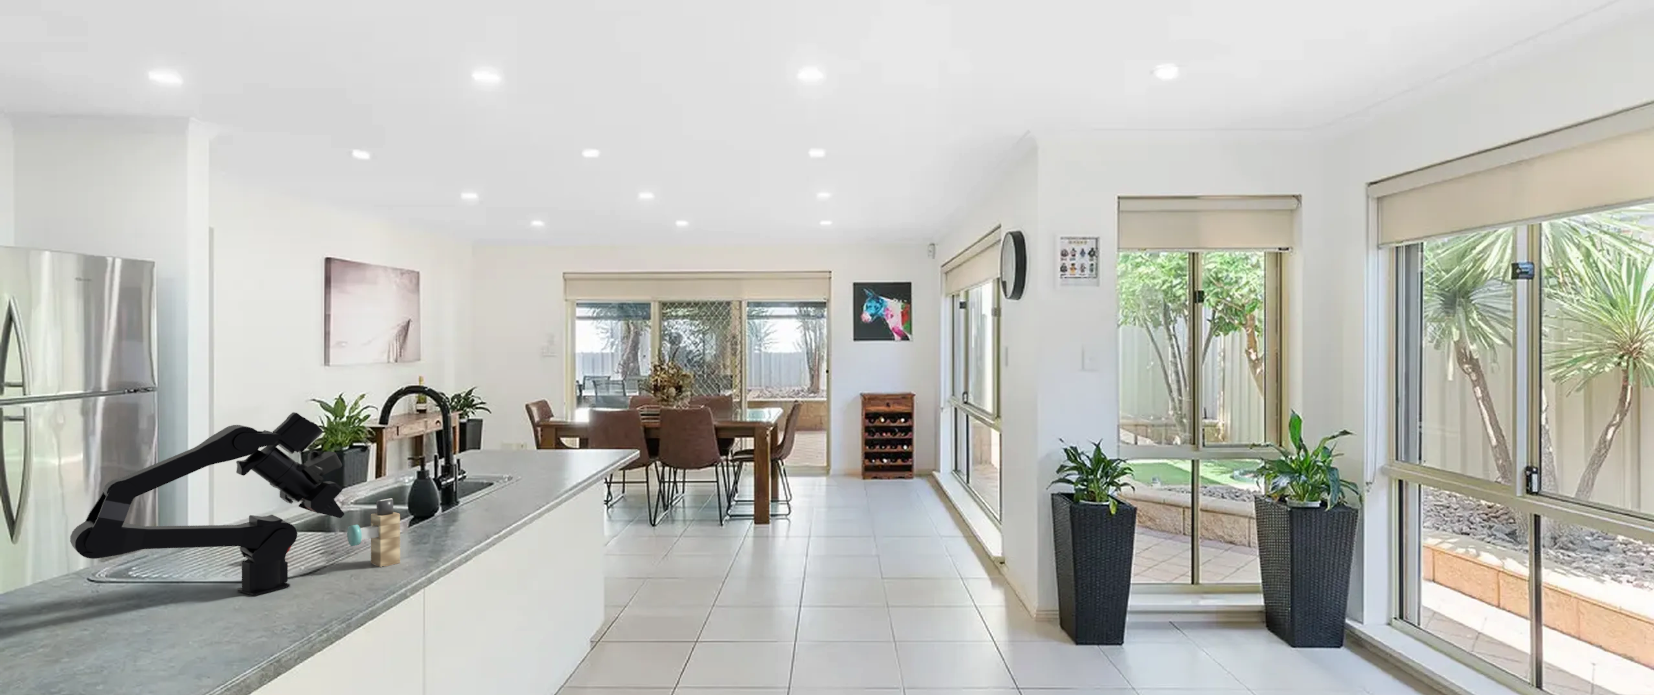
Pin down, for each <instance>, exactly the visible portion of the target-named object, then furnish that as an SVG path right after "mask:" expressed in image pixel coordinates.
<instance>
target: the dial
mask: <svg viewBox="0 0 1654 695" xmlns="http://www.w3.org/2000/svg"><path fill="white" fill-rule="evenodd" d="M394 512H395V511H394V499H393V498H391V497H390V498H383V499H378V500H376V513H377V515H388V514H392V513H394Z"/></svg>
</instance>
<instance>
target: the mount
mask: <svg viewBox="0 0 1654 695" xmlns="http://www.w3.org/2000/svg"><path fill="white" fill-rule="evenodd" d="M375 525H378V526H379V537H376V538H370V564H372V565H375V566H377V567H378V568H383V567H382V566H384V567H388V566H392V565H397V564H401V514H400V513H398V512H395V511H394V513H392V514H388V515H377V512H375V513H370V526H375Z"/></svg>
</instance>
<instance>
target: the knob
mask: <svg viewBox="0 0 1654 695" xmlns="http://www.w3.org/2000/svg"><path fill="white" fill-rule="evenodd" d="M346 537H347V542H348V545H350V546H351V547H355V546H359V545H361V542H362V541H363V540H371V538H376V537H379V526H378V525H375V526H371V525H369V526H364V527H360V525H359V524H353V525H349V526H348V527H347V531H346Z"/></svg>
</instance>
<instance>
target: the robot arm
mask: <svg viewBox="0 0 1654 695" xmlns="http://www.w3.org/2000/svg"><path fill="white" fill-rule="evenodd" d="M323 433H324V431H323V429H322V428H321V427H320V426H318V425H317V424H316V423H315V422H313V421H310V420H308V419H307V418H305V417H304V416H302V415H301V414H299V413H298V412H294V411H293V412H291V413H290V414H289V415H288V416H287V417H286V419H285V420H284V421H283V422H281V423H280V425H278V426H277V427H276V428H275V429H273V431H269V430H265V429H264V430H263V431H262V430H257V429H256V428H253V427H249V426H245V425H241V424H231V425H229V426H227V427H225V428H223V429H221V430H219V431H217V432H216V433H215V434H212V435H211V436H209V437H208V438H207V439H205V440H204V441H203V442H201V443H199V444H198V445H196V446H194V447H192V448H191V449H188V450H185V451H183V452H181V453H178V454H175V455H174V456H170V457H169V458H166V459H164V460H161V461H159V462H157V463H154V464H151V465H149V466H147V467H144V468H142V469H139V470H137V471H134V472H132V473H130V474H128V475H124V476H122V477H120V478H114V479H111V480H110V481H109V482H107V483H106V484H105V485H104V488H103V491H102V492H101V495H100V496H99V498H98V499H97V501H96V502H95V504H94V505H93V506H92V508H91V510H90V511H89V513H88V515H87V517H86V519H85V520H84V522H82V523H81V524H79V525H77V526H76V527H75V528H74V529H73V531H72V532H71V534H70V537H69V538H70V540H69V542H70V544H71V547H72V548H73V549H74V550H75V551H76V552H77V553H78V554H79V555H80V556H81V557H83V558H86V559H92V560H95V559H96V560H97V559H102V558H109V557H110V558H111V557H115V556H121V555H125V554H129V553H133V552H137V551H141V550H154V549H155V550H159V549H161V550H163V549H190V548H191V549H192V548H222V547H223V548H224V547H240V548H239V550H240V552H241V555H242V557H244V558H246V559H245V560H241V587H238V588H237V590H236V591H237V592H238V593H239V592H240V593H243V594H246V595H249V596H258V595H262V594H266V593H270V592H273V591H277V590H282V589H285V588H289V587H290V586H291V584H290V583H288V581H289V580H288V577H289V573H288V572H289V568H288V565H289V564H288V561H286V555H287V554H288V552H289V551H288V548H289V547H290V546H291V547H292V546H293V545H294V544H295V542H296V541H297V538H298V531H297V529H296V527H295V526H294V525H293V524H291V523H290V522H287V521H285V520H284V519H283V518H281V517H279V516H276V515H274V514H269V515H264V516H259V515H251V514H250V515H249V516H248V521H247V522H243V523H240V524H223V525H222V524H216V525H215V524H211V525H210V524H209V525H208V524H207V525H151V526H150V525H149V526H148V525H147V526H145V525H138V524H133V523H127V522H125V520H126V518H127V515H128V513H129V510H130V507H131V504H132V503H133V501H134V499H135V498H137V497H138V496H141V495H144V494H145V493H148V492H151V491H152V490H155V489H158V488H160V487H163V486H164V485H167V484H169V483H171V482H174V481H176V480H178V479H180V478H182V477H186V476H187V475H190V474H192V473H195V472H196V471H199V470H202V469H204V468H206V467H208V466H212V465H215V464H221V463H225V462H226V463H227V462H230V461H234V460H236V462H235V463H236V474H238V475H240V476H243V477H244V476H246V475H248V473H249V472H250V471H253V472H254V473H255V474H256V475H258V476H260V477H261V478H263V479H264V480H265V481H267V482H268V483H269V485H270V487H273V488H275V489H277V490H278V491H279V498H281V499H282V500H283V501H284V502H286V503H287V504H291V505H292V504H293V503H294V502H297V503H299V504H298V508H301V509H304V510H306V511H310V512H313V513H316V514H322V515H327V516H328V517H330V516H331V517H334V518H338V519H341V518H343V517H344V516H345V513H344V511H343V510H342V509H341V507H340V506H339V505H338V503H337V502H336V500H335V498H337V497H338V495H339V494H341V493H342V492H343V488H344V487H342V486H341V485H339V484H338V483H336V482H334V481H331V480H329V481H327V480H326V481H323V480H324V478H323V476H324V475H326V474H328V473H330V472H333V471H335V470H339V469H341V467H342V466H343V464H342V462H341V460H340V459H339V458H340V457H338V454H337V453H336V452H334V451H323V453H322V452H320V451H318V450H313V451H311V452H308V454H307V460H306V461H305V462H304V463H299V462H297V461H295V460H294V459H292V457H290V456H288V455H287V454H286V453H285V452H287V453H289V454H291V455H293V454H294V453H295V452H296V453H297V454H298V453H299V454H302V453H303V452H304V451H305V450H306V449H307V448H308V447H309V446H310V445H312V443H314V442H315V441H316V440H317V439H319V437H320V436H321V435H322V434H323ZM278 447H280V448H281V449H283V450H284V451H285V452H284V451H282V450H281V449H280V448H278ZM260 448H262V449H260ZM259 449H260V450H259ZM247 456H248V457H247ZM244 457H247V458H246V459H242V460H238V459H241V458H244ZM287 551H288V552H287ZM286 553H287V554H286Z"/></svg>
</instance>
